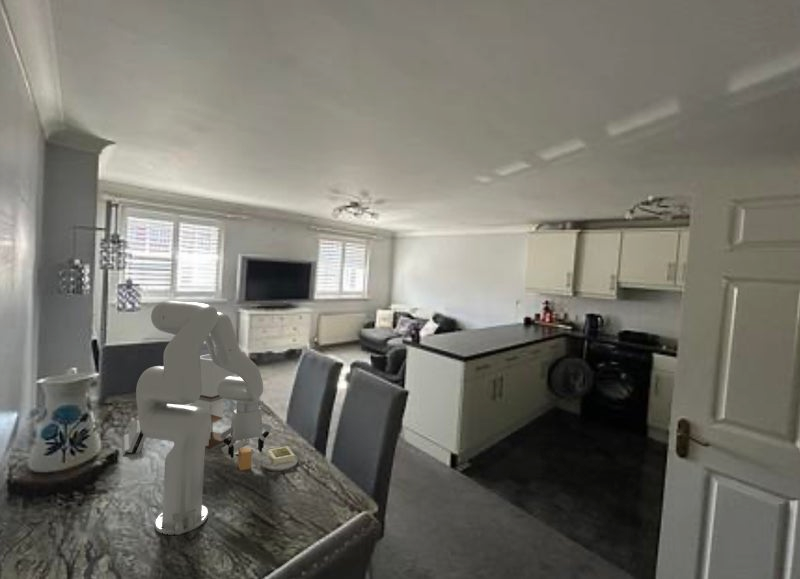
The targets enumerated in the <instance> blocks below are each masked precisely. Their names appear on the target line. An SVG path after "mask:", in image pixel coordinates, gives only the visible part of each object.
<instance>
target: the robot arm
mask: <svg viewBox="0 0 800 579" xmlns="http://www.w3.org/2000/svg"><path fill="white" fill-rule="evenodd" d="M150 319H151V323H152V325H153V327H154V328H156V330H158V331H160V332H163V333H166V334H170V335H174V336H173V337H172V338H171V340H170V341H169V342H168V343H167V345H166V346H165V349H164V351H163V365H155V366H151V367H149V368H147V369H146V370H144V371H143V372H142V373H141V374H140V377H139V378H138V380H137V383H136V388H135V390H136V391H135V397H136V406H137V416H138V420H139V425H140V429H141V432H142V433H143V434H144V435H145V436H146V438H150V439H155V440H160V441H161V440H162V441H168V442H173V443H174V444H173V446H172V448H171V449H170V450H169V451H168V453H167V454H166V457H165V460H164V473H163V474H164V476H163V494H162V496H163V497H162V511H161V513H160V514H159V515H158V516H157V517H156V519H155V522H154V527H155V530H156V531H157V532H158V533H159V534H162V533H163V535H167V534H168V536H170V535H171V536H173V535H174V534H175V535H182V534H184V533H185V534H186V533H188V532H190V531H193V530H196V529H197V528H199V527H200V526H201V525H202V524H204V523H205V522H206V520H207V519H208V514H209V512H208V511H209V510H208V508H207V507H206V506H205V505H203V497H204V496H203V491H204V478H205V477H204V473H205V457H206V456H205V455H206V451H205V446H206V439H207V435H208V431H209V427H210V421H211V418H210V414H209V413H208V411H207V410H205V409H204V408H201V407H198V406H192V405H190V404H192V403H194V402H196V401H197V400H198V399H199V398H200V395H201V392H202V378H201V363H200V356H201V351H202V348H203V345H204V344H206V347H207V350H208V354H210V356H211V359H212V361H213V362H214V363H215V364H216V365H218V366H219V367H221V368H223V369H225V370H228V371H230V372H232V373H234V374H235V375H233V376H228V377H225V378H224V379H222V380H221V381H220V382H219V384H218V387H217V392H218V395H219V396H220V397H222V398H225V399H229V400H233V401H236V409H234V410H233V413H232V418H231V426H230V428H228V429H226V430H225V431H223V432H221V433H220V436H221V438H222V440H223V441H224V443H225V444H224V445H226V446H228V454H227V455H229V456H230V458H231V459H233V458H234V456H235V455H234V454H235V451H234V446H233V445H235V444H236V442H238V441H241V440H244V439H249V440H250V439H254V438H258V440H257V449H258V451H259V452H260V453H261V452H263V449H264V445H265V444H264V442H265V440H266V438H267V437H268V436H269V435H270V432H271V431H272V429H273V427H272V425H270V424H267V423H264V422H263V415H262V414H263V413H262V408H261V406H263V405H264V401H263V400H260V398H261V397H262V395H263V391H264V382H263V379H262V375H261V371H260V369H259V367H258V366H257V364H256V363H255V362H254V361H253V360H252V359H251V358H250V357H248V355H246V354H245V353H244V352H242V351H241V349H240V346H239V343H238V339H237V335H236V333H235V332H236V331H235V329H234V326H233V322H232V320H231V317H230V316H229V315H228V314H226V313H225V312H222V311H221V312H220V311H218V310H217V309H216V307H215V306H213V305H211V304H207V303H202V302H194V301H193V302H191V301H179V300H178V301H177V300H176V301H175V300H165V301H161V302H159V303H157V304H155V306H154V307H153V309H152V310H151V313H150ZM263 429H265V431H264V432H263ZM227 435H229V436H231V438H230V439H229V440H228V439H227V438H226V436H227Z"/></svg>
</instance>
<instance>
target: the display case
mask: <svg viewBox="0 0 800 579" xmlns="http://www.w3.org/2000/svg"><path fill="white" fill-rule="evenodd" d="M200 363H201V378H202V392H201V395H200V398H199V399H198V400H197V401H196V402H194V403H192V404H189V405H192V406H198V407H201V408H204V409H205V410H207V411H208V413H209V414H210V418H211V421H210V427H209V431H208V435H207V439H206V446H205V453H206V452H207V453H211V452H212V451H214V450H216V449H219V448H220V447H222V446H224V445H226V444H225V443H224V441H223V440H222V438H221V436H220V434H221V433H220V432H215V431H213V428H214V423H216V422H218V421H220V420H222V419H223V416H224V402H226V401H228V400H229V401H230V399H225V398H222V397H220V396H219V395H218V392H217V387H218V384H219V382H220V381H221V380H222V379H224V378H225V377H228V376H233V375H236V374H234V373H232V372H230V371H228V370H225V369H223V368H221V367H219V366H218V365H216V364H215V363H214V362H213V361H212V359H211V356H210V353H207V354H203V355H200ZM231 437H232V436H231V435H230V434H229V435H227V436H226V438H227V439H228V440H229V439H230V438H231Z"/></svg>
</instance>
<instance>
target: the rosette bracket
mask: <svg viewBox="0 0 800 579" xmlns="http://www.w3.org/2000/svg"><path fill="white" fill-rule="evenodd" d="M266 454H267V456H265V457H264V458H263V461H262V466H263V468H264V469H266V470H268V471H271V472H285V471H288V470H291V469H293V468H295V467H296V466H297V464H298V456H297V454H295V453H294V452H293V451H292V449H291V448H290V447H289V446H288V445H287V446H279V447H275V448H270V449H267V451H266Z"/></svg>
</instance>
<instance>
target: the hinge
mask: <svg viewBox="0 0 800 579" xmlns="http://www.w3.org/2000/svg"><path fill="white" fill-rule="evenodd" d="M146 438H147V437H146V436H145V435H144V434H143V433H142V432H141V429H140V425H139V419H135V420H134V422H133V424H132V426H131V428H130V430H129V431H128V433H126V434H124V435H123V437H122V440H121V442H122V445H123V448H122V456H125V455H126V453H131V454H132V453H135V454H140V452H141V450H142V448H143V445H144V443H145V440H146Z"/></svg>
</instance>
